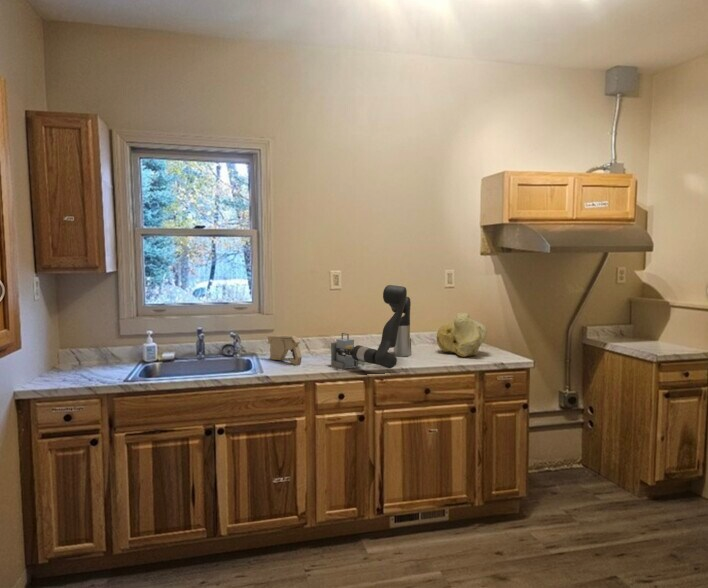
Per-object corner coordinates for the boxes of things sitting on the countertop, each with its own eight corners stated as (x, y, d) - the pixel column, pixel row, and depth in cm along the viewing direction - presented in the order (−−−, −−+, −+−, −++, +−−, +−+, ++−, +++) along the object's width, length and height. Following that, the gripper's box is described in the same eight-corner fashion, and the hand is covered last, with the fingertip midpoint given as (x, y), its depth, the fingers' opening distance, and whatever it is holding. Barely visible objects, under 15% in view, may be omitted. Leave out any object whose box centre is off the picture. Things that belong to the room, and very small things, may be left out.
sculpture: (459, 329, 264) (434, 305, 290) (452, 371, 275) (429, 344, 301) (500, 324, 272) (472, 301, 298) (492, 365, 282) (465, 340, 308)
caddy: (345, 364, 262) (345, 331, 261) (354, 366, 257) (354, 333, 255) (336, 366, 259) (336, 333, 257) (345, 368, 253) (344, 334, 252)
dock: (346, 363, 265) (346, 340, 264) (358, 366, 258) (357, 343, 257) (331, 365, 259) (330, 342, 258) (342, 369, 251) (342, 345, 250)
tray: (366, 358, 278) (366, 352, 277) (381, 362, 267) (381, 356, 267) (348, 361, 270) (348, 355, 270) (364, 365, 260) (364, 359, 260)
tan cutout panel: (302, 364, 262) (300, 335, 262) (298, 365, 260) (295, 336, 260) (273, 362, 279) (271, 335, 279) (269, 363, 277) (267, 336, 276)
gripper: (374, 344, 250) (353, 340, 263) (351, 348, 241) (331, 343, 254) (374, 359, 251) (353, 354, 264) (351, 363, 242) (331, 358, 255)
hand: (342, 349), depth 259 cm, fingers open, 7 cm apart
